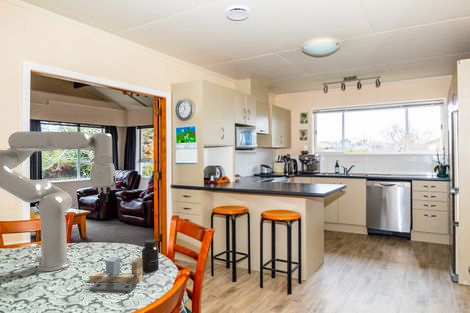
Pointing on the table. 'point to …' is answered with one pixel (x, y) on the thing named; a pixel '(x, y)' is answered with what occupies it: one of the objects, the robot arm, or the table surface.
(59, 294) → the table surface
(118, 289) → the flange plate
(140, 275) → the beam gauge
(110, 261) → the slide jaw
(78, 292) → the table surface
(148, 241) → the supplement bottle
